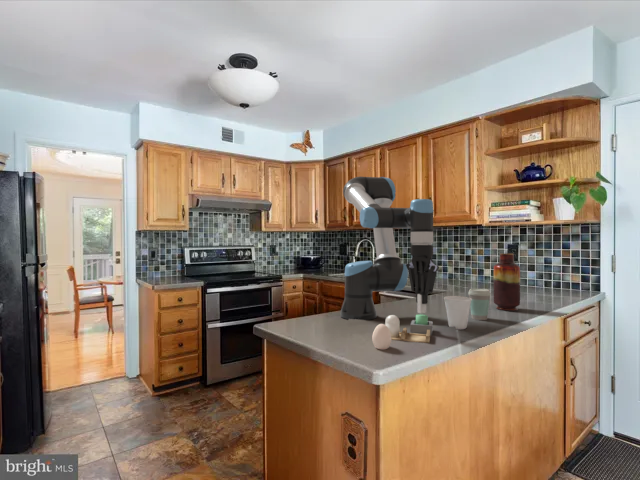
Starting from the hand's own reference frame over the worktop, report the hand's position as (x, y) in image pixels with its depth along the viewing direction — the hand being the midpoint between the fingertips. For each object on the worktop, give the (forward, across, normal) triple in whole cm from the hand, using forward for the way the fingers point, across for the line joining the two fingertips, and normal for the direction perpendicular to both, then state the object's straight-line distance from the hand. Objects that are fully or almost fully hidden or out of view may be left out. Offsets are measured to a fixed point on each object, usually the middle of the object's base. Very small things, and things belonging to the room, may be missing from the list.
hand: (421, 312), depth 122 cm
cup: (+8, 0, -19) cm, 20 cm away
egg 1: (+8, -7, +24) cm, 26 cm away
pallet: (+8, -2, +10) cm, 13 cm away
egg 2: (+7, +1, +12) cm, 14 cm away
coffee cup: (+8, +6, -39) cm, 40 cm away
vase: (+8, +12, -68) cm, 69 cm away
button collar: (+8, 0, 0) cm, 8 cm away
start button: (+6, 0, 0) cm, 6 cm away
